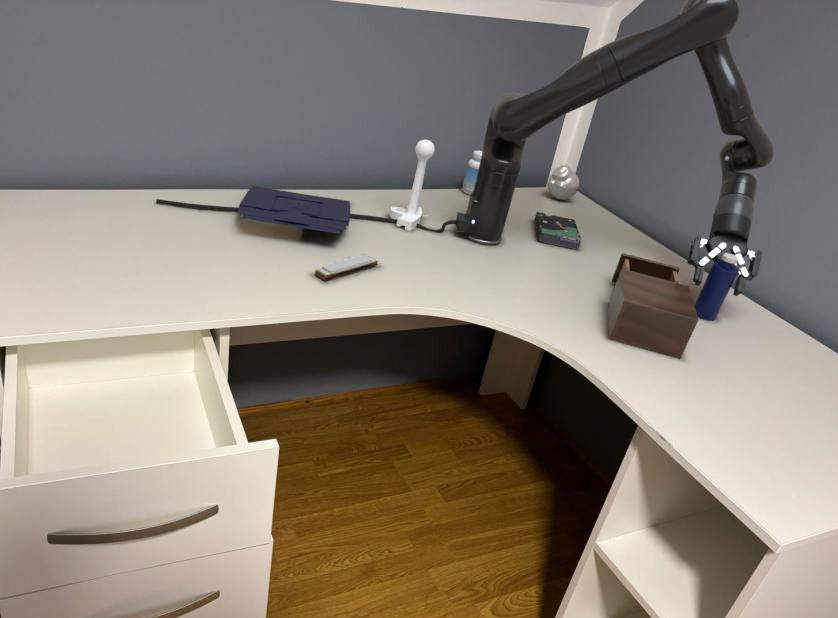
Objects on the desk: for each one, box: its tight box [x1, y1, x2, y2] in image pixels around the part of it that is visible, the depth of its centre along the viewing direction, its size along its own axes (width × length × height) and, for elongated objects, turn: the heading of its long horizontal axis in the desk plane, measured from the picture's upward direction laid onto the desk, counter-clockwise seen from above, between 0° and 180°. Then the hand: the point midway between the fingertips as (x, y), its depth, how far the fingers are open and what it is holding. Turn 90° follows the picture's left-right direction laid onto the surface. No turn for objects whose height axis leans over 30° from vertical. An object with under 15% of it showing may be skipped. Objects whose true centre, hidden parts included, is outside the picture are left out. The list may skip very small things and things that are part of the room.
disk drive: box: [533, 211, 582, 250], centre depth 177 cm, size 10×3×15 cm
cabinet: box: [607, 269, 699, 360], centre depth 138 cm, size 16×14×9 cm
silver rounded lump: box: [546, 164, 580, 201], centre depth 201 cm, size 9×10×10 cm
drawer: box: [611, 252, 681, 287], centre depth 150 cm, size 18×12×7 cm
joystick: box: [388, 139, 436, 232], centre depth 164 cm, size 11×8×20 cm
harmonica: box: [314, 254, 378, 281], centre depth 140 cm, size 15×3×2 cm, turn 136°
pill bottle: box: [461, 150, 482, 195], centre depth 193 cm, size 6×6×11 cm
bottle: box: [694, 253, 738, 322], centre depth 148 cm, size 5×5×14 cm
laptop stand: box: [237, 185, 351, 235], centre depth 159 cm, size 24×30×4 cm
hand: (717, 289), depth 147 cm, fingers open, 7 cm apart
